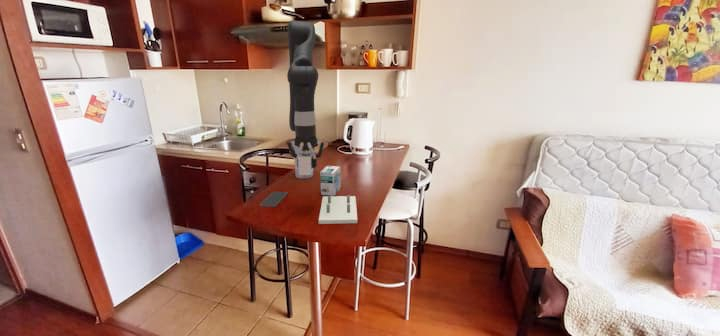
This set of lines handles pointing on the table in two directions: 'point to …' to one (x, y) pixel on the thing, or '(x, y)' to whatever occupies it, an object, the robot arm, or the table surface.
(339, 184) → the light bulb box
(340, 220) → the peg board
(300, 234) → the table surface
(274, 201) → the smartphone
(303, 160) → the plate
